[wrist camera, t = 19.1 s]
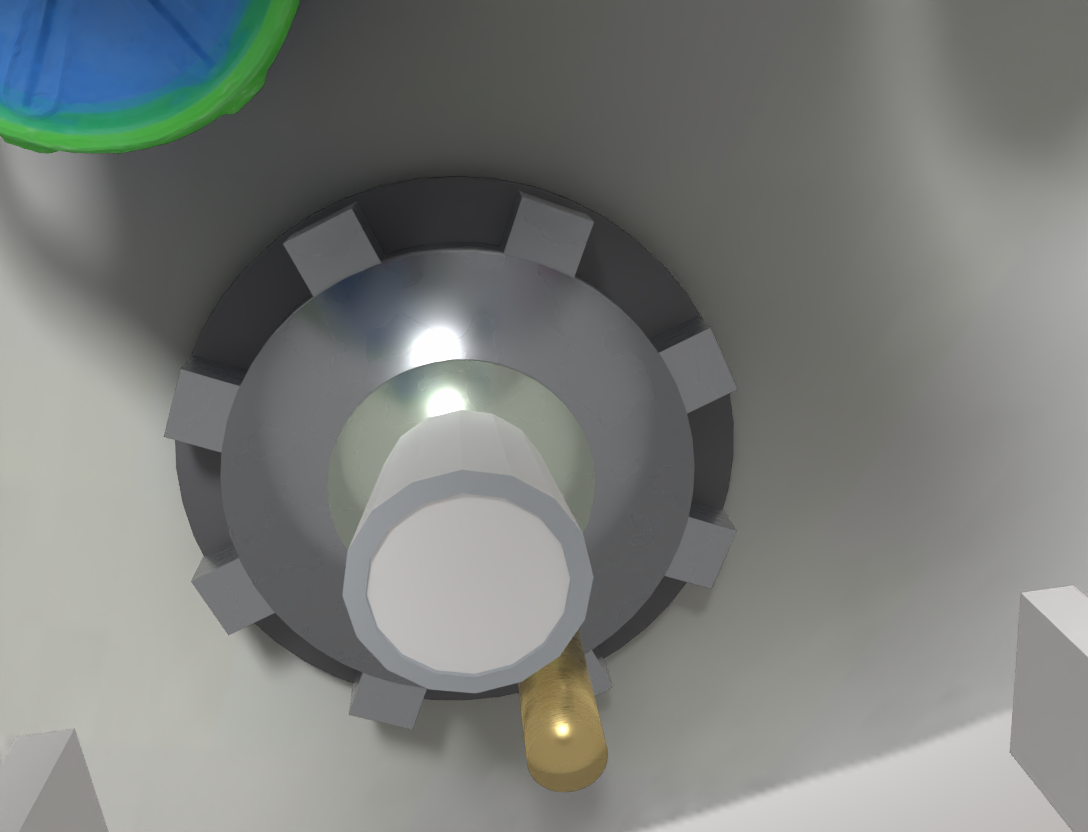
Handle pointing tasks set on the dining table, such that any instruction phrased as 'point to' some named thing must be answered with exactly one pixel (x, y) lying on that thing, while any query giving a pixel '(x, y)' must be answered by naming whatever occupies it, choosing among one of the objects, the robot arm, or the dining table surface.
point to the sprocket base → (424, 219)
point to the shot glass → (466, 558)
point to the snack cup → (130, 68)
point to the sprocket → (440, 387)
